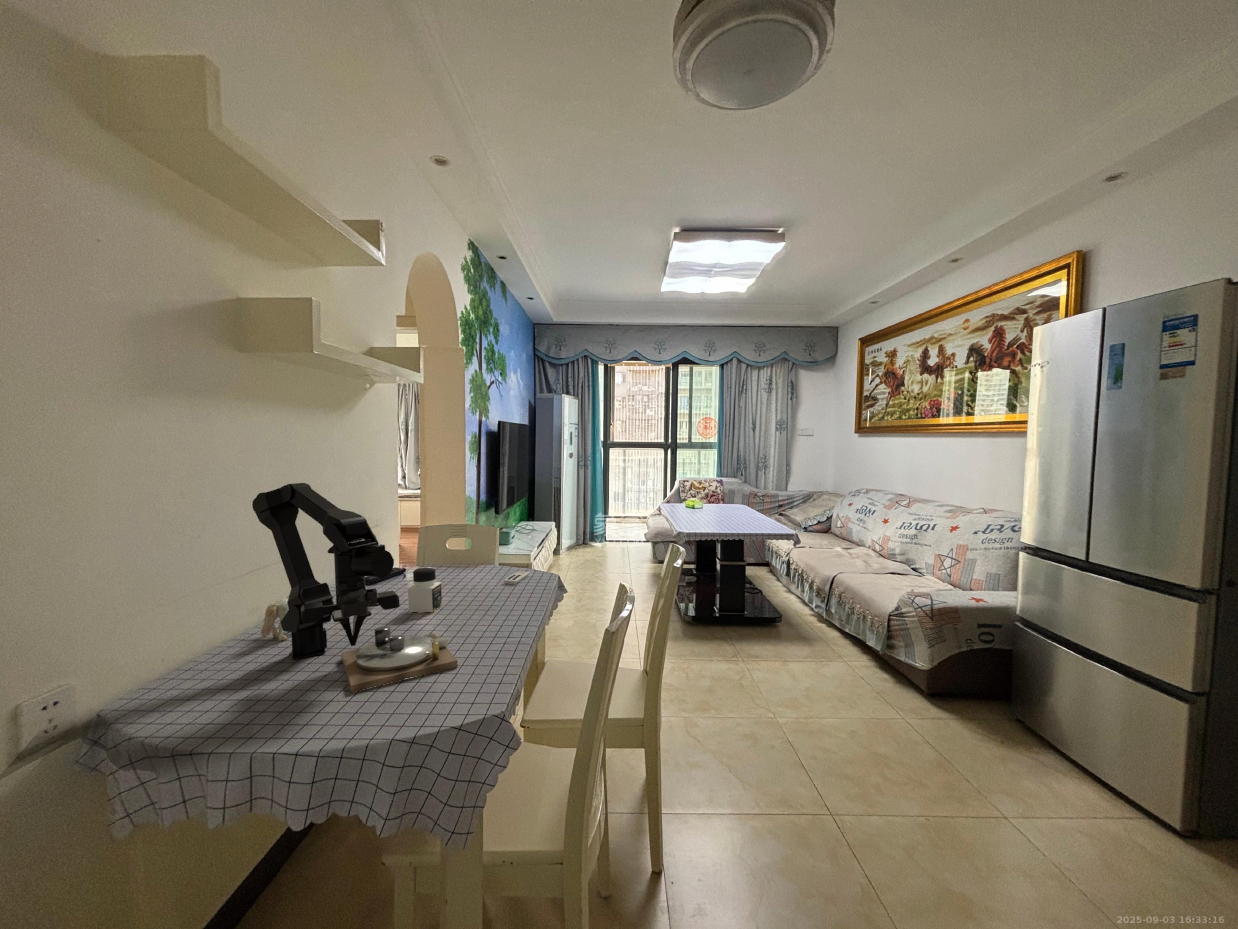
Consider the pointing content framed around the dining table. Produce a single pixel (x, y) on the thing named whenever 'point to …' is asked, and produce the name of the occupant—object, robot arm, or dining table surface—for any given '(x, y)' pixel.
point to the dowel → (435, 650)
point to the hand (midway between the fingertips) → (353, 645)
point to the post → (397, 642)
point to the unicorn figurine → (271, 615)
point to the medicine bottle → (424, 591)
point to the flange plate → (385, 659)
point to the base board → (368, 679)
